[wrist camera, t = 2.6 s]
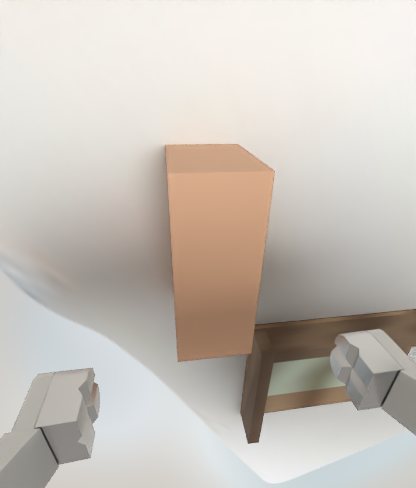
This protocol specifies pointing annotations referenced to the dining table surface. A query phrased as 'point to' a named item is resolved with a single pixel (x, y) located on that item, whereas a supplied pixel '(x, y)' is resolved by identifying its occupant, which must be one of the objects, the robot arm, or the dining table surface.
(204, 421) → the dining table surface
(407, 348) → the brown wooden flat frame
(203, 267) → the terracotta block
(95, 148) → the dining table surface
